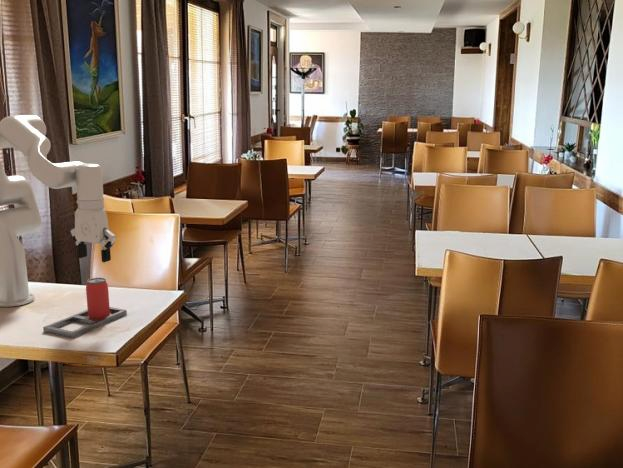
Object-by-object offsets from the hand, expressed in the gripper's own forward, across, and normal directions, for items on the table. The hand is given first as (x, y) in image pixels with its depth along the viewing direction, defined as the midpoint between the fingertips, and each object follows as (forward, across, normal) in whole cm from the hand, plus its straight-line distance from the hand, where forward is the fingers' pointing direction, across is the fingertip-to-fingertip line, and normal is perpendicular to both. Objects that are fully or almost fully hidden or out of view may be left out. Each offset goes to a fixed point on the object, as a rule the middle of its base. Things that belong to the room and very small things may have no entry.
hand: (94, 259), depth 196 cm
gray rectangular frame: (+19, +1, -6) cm, 20 cm away
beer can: (+19, +1, 0) cm, 19 cm away
